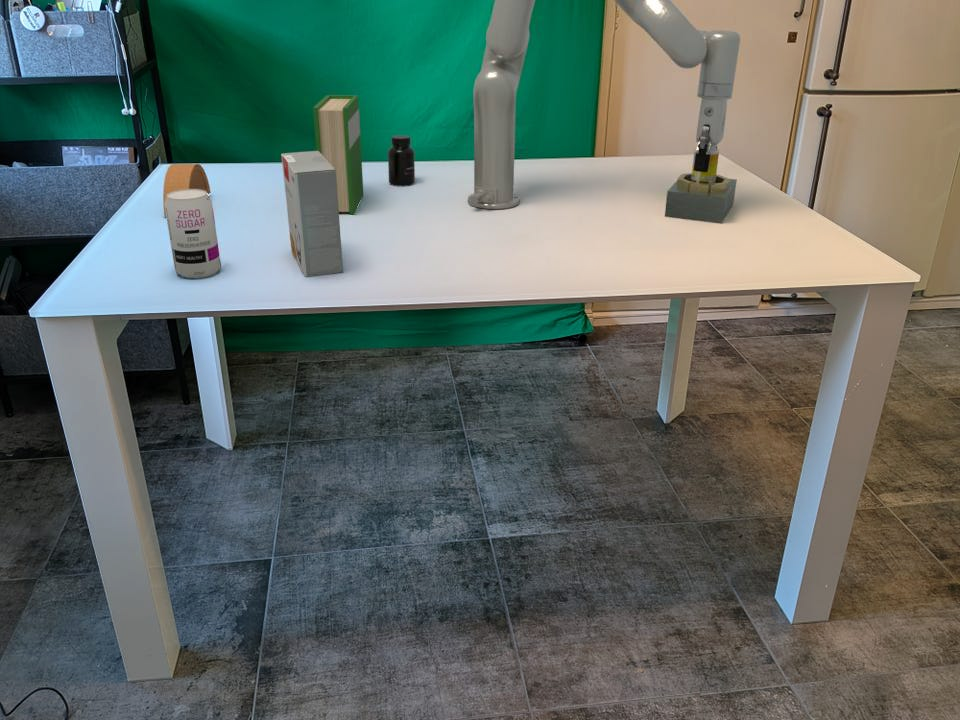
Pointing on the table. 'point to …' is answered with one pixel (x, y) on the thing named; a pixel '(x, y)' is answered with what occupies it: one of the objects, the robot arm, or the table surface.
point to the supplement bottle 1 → (401, 161)
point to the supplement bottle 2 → (711, 174)
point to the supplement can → (192, 233)
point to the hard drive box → (313, 212)
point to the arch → (184, 179)
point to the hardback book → (341, 145)
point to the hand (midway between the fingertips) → (704, 166)
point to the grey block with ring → (700, 199)
